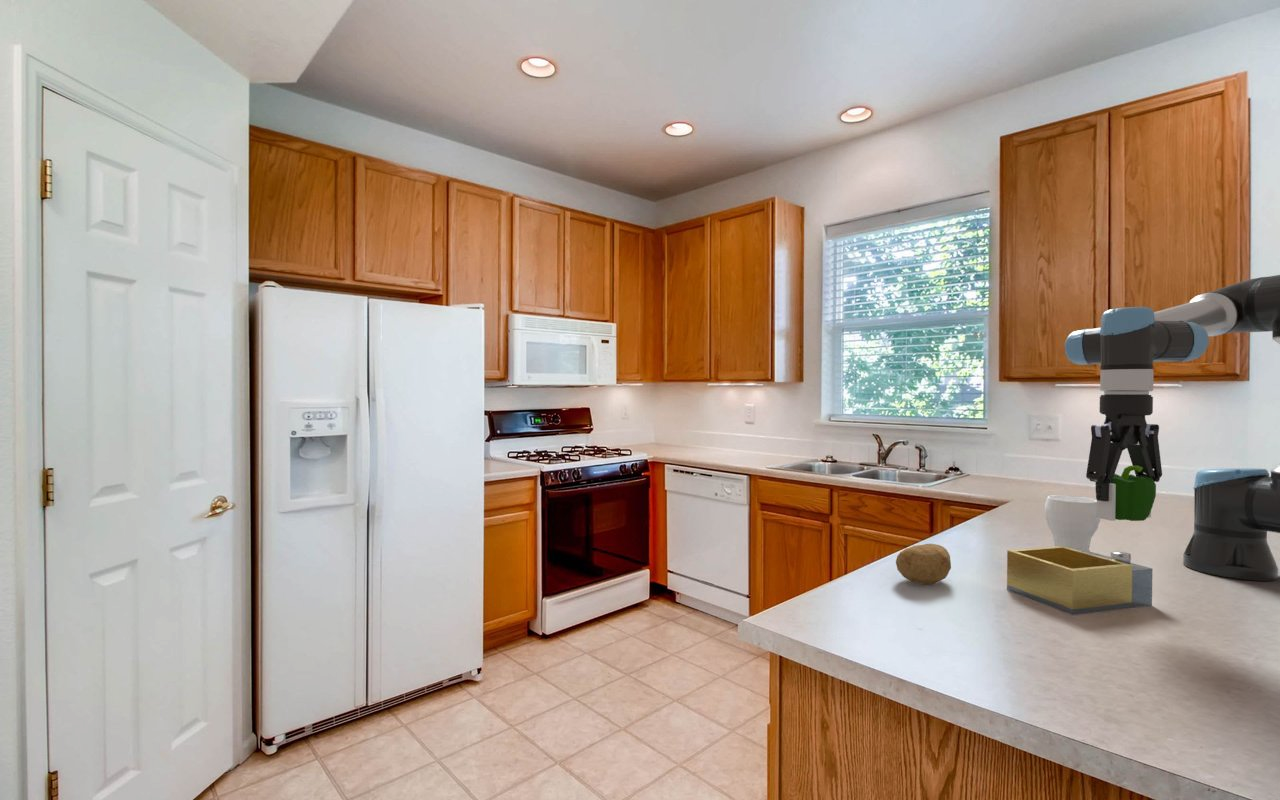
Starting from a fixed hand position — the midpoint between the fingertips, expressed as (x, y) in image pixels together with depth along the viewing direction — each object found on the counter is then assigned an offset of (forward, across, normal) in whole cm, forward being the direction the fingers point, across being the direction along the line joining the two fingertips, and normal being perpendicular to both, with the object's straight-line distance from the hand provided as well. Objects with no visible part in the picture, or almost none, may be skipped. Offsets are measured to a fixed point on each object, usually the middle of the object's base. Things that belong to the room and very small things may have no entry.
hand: (1123, 517), depth 108 cm
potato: (+18, +22, -24) cm, 37 cm away
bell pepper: (0, 0, 0) cm, 1 cm away
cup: (+18, -22, -26) cm, 38 cm away
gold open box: (+17, +1, -8) cm, 19 cm away
